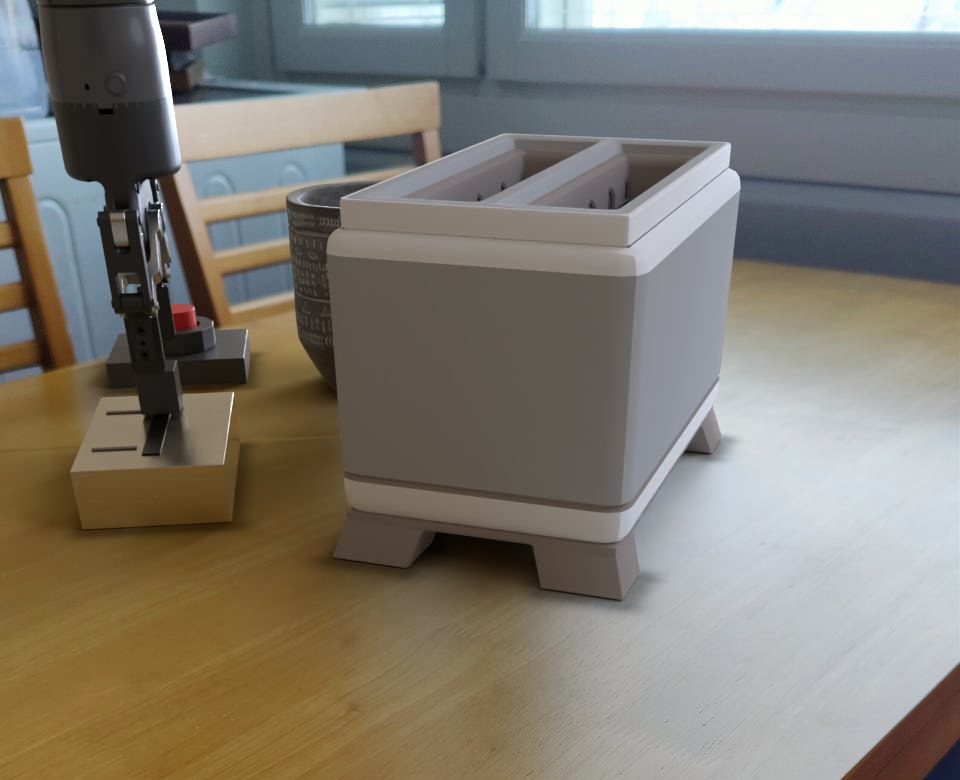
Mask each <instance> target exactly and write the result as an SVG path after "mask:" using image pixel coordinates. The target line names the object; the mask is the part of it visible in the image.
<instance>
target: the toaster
mask: <svg viewBox="0 0 960 780" xmlns="http://www.w3.org/2000/svg"><path fill="white" fill-rule="evenodd" d="M731 151H732V144H731V143H730V142H729V141H728V142H727V141H706V140H704V141H702V140H682V139H681V140H679V139H656V138H655V139H654V138H629V137H605V136H603V137H602V136H581V135H580V136H579V135H557V134H556V135H554V134H550V135H549V134H528V133H501V134H498V135H496V136H494V137H491V138H489V139H486V140H483V141H481V142H478V143H475V144H473V145H471V146H468V147H466V148H463V149H461V150H458V151H455V152H453V153H451V154H448V155H445V156H442V157H440V158H438V159H435V160H433V161H429V162H428V163H425V164H423V165H420V166H418V167H415V168H413V169H410V170H407V171H405V172H403V173H400V174H398V175H394V176H392V177H390V178H387V179H384V180H385V181H382V182H379V183H377V184H374V185H372V186H369V187H367V188H364V189H362V190H359V191H357V192H354V193H352V194H349V195H347V196H344V197H342V198H341V199H340V215H341V228H339V229H336V230H335V231H334V232H332V234H331V235H330V237H329V238H328V243H327V250H326V253H327V266H328V279H329V292H330V305H331V318H332V331H333V344H334V357H335V370H336V382H337V391H336V394H337V395H336V396H337V407H338V420H339V432H340V446H341V460H342V468H343V471H344V472H343V484H344V492H345V496H346V499H347V503H348V505H349V506H350V508H349V509H348V510H347V511H346V520H345V522H344V524H343V528H342V530H341V533H340V535H339V538H338V542H337V544H336V547H335V549H334V552H333V555H332V557H333V558H335V559H341V560H347V561H356V562H360V563H361V562H362V563H367V564H369V563H370V564H375V565H381V566H389V567H397V568H402V569H407V568H409V567H410V566H411V565H412V564H413V563H414V562H415V561H416V560H417V559H418V558H419V557H420V556H421V555H422V553H424V552H425V550H426V549H428V548H429V546H431V545H432V544H433V540H434V538H435V535H436V533H443V534H451V535H458V536H466V537H474V538H479V539H488V540H495V541H502V542H509V543H517V544H524V545H530V546H531V547H532V548H533V549H532V551H533V554H534V558H535V566H536V569H537V570H536V571H537V576H538V581H539V585H540V588H541V589H545V590H553V591H559V592H565V593H572V594H578V595H584V596H591V597H599V598H604V599H605V598H606V599H610V600H611V599H613V600H619V601H623V600H624V599H625V598H626V596H627V595H628V593H629V591H630V589H631V588H632V586H633V584H634V583H635V582H636V580H637V578H638V576H639V574H640V571H641V570H640V566H639V560H638V553H637V548H636V541H635V535H634V530H635V528H636V526H637V524H638V523H639V521H640V520H641V518H642V517H643V516H644V514H645V512H646V511H647V509H648V507H649V506H650V504H651V503H652V501H653V500H654V499H655V497H656V495H657V494H658V493H659V491H660V490H661V488H662V487H663V485H664V484H665V482H666V480H667V479H668V477H669V476H670V474H671V473H672V471H673V470H674V469H675V466H676V465H677V464H678V462H679V461H680V459H681V457H683V454H684V453H685V451H686V452H692V453H693V452H694V453H703V454H713V452H714V451H715V449H716V447H717V445H718V444H719V442H720V440H721V438H722V437H723V436H722V432H721V430H720V429H721V428H720V426H719V423H718V419H717V417H716V413H715V410H714V404H715V403H716V400H717V397H718V393H719V387H720V378H721V377H720V374H721V369H722V361H723V360H722V359H723V350H724V343H725V342H724V341H725V332H726V323H727V316H728V315H727V313H728V306H729V296H730V286H731V277H732V271H733V269H732V268H733V260H734V250H735V241H736V233H737V223H738V213H739V204H740V195H741V178H740V176H739V174H738V173H737V171H735V170H733V169H731V168H730V161H731Z"/></svg>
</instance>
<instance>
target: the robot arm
mask: <svg viewBox="0 0 960 780" xmlns="http://www.w3.org/2000/svg"><path fill="white" fill-rule="evenodd" d="M35 1H36V4H37V5H38V6H37V13H38V20H39V21H38V22H39V34H40V44H41V52H42V58H43V65H44V69H45V75H46V80H47V84H48V90H49V95H50V101H51V105H52V110H53V115H54V120H55V126H56V131H57V135H58V141H59V146H60V151H61V156H62V157H61V158H62V161H63V166H64V170H65V172H66V174H67V175H68V176H69V177H70V178H71V179H73V180H76V181H79V182H83V183H84V182H85V183H93V182H95V183H98V184H100V185H101V186H102V188H103V191H104V196H103V197H104V202H105V204H103V207H102V208H103V210H102V211H101V210H99V211H97V217H96V225H97V227H98V228H99V234H100V239H101V244H102V250H103V255H104V256H103V257H104V262H105V267H106V273H107V279H108V285H109V290H110V295H111V300H110V304H111V308H112V309H113V311H114V314H115V315H119V317H120V318H123V324H124V329H125V334H126V336H127V341H128V346H129V352H130V357H131V363H132V368H133V371H134V372H135V373H136V374H137V375H157V374H162V373H163V372H164V371H165V367H166V362H165V356H164V350H163V344H162V341H171V340H173V339H174V337H175V334H176V330H175V324H174V318H173V312H172V305H171V304H172V300H171V293H170V287H169V284H170V281H171V278H172V275H171V270H170V269H171V263H172V256H171V253H170V242H169V238H168V234H167V223H166V222H167V221H166V218H167V217H166V210H165V207H164V203H163V202H161V197H160V190H161V188H160V184H159V182H158V180H161V179H165V178H169V177H171V176H174V175H176V174H178V173H179V171H180V170H181V168H182V156H181V150H180V141H179V136H178V129H177V121H176V114H175V109H174V102H173V95H172V94H173V93H172V88H171V82H170V81H171V80H170V74H169V73H170V72H169V65H168V60H167V54H166V53H167V52H166V48H165V43H164V39H163V35H162V30H161V27H160V23H159V19H158V15H157V10H156V6H155V5H156V4H155V3H153V2H154V1H155V0H35ZM129 285H136V286H137V287H136V291H137V292H127V291H128V290H127V287H128V286H129Z"/></svg>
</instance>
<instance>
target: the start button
mask: <svg viewBox="0 0 960 780" xmlns="http://www.w3.org/2000/svg"><path fill="white" fill-rule="evenodd" d="M171 305H172V312H173V318H174V324H175V330H176V331H179V330H186V329H191V328H195V327H197V323H196V316H197V315H196V310H195V309H196V308H195V306H194V305H192V304H187V303H171Z"/></svg>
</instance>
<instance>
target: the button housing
mask: <svg viewBox="0 0 960 780" xmlns="http://www.w3.org/2000/svg"><path fill="white" fill-rule="evenodd" d="M195 316H196V323H197V327H195V328H191V329H186V330H179V331H176V334H175V337H174V339H173V340H171V341H162V344H163V350H164V356H165V360H177V363H178V369H179V376H180V382H181V387H185V386H208V385H209V386H211V385H213V386H214V385H233V384H234V385H235V384H236V385H237V384H247V383H248V378H249V369H250V361H251V360H250V359H251V345H250V336H249V329H248V328H233V329H231V328H230V329H215V323H214V320H212V319H210V318H209V317H208V318H207V317H206V316H200V315H195ZM105 368H106V373H107V374H106V375H107V379H108V380H107V381H108V384H109V389H110V390H115V389H116V390H117V389H118V390H119V389H137V387H136V381H135V375H134V371H133V368H132V363H131V357H130V352H129V346H128V341H127V336H126V333H119V334H117V337H116V340H115V342H114V344H113V346H112V348H111V351H110V352H109V355H108V357H107V360H106V362H105Z"/></svg>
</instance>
